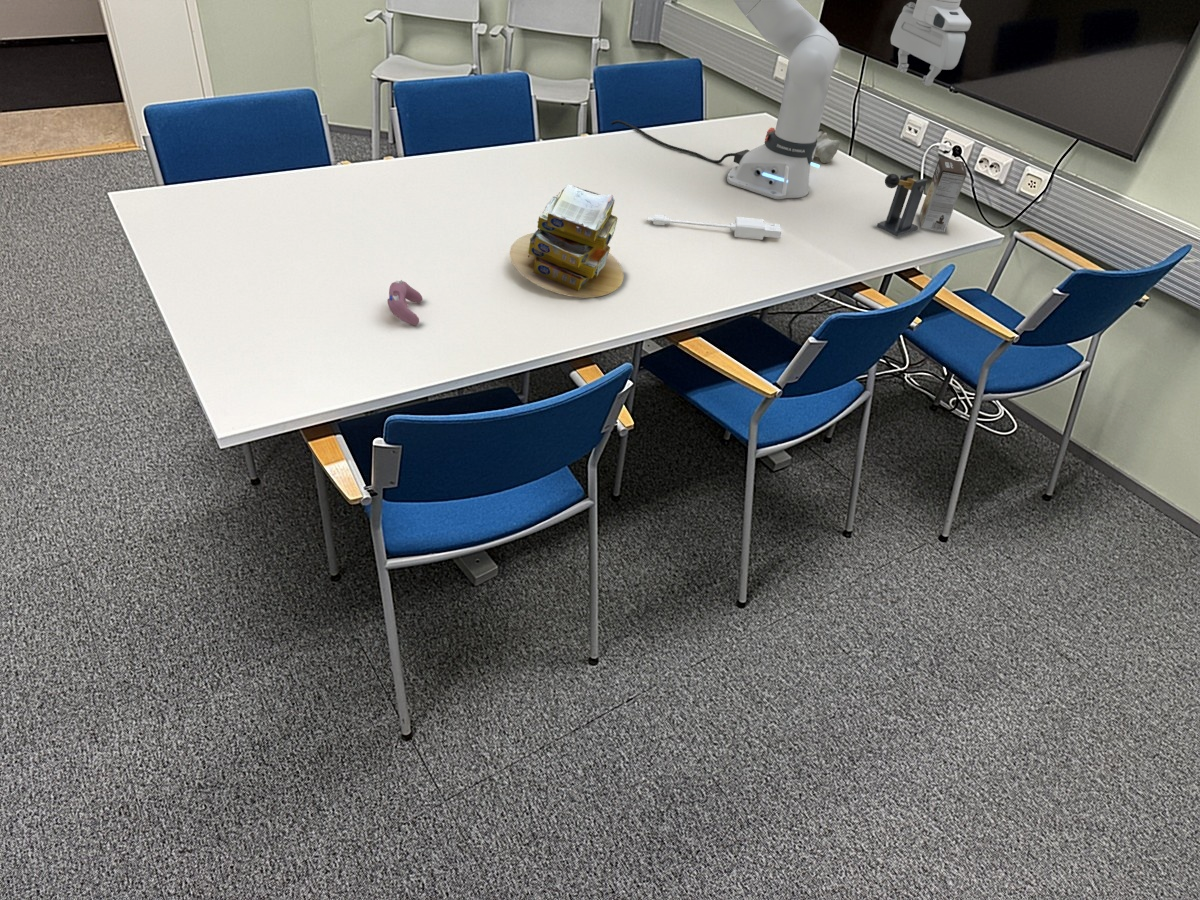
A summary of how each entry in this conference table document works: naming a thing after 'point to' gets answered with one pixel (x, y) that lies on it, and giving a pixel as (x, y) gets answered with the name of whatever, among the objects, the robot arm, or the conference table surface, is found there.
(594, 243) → the stack of yellow boxes
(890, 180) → the flush lever
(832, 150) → the ceramic sculpture
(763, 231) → the charging cable
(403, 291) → the video game controller
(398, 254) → the conference table surface
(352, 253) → the conference table surface
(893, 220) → the dark grey upright bracket
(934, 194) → the coffee box
